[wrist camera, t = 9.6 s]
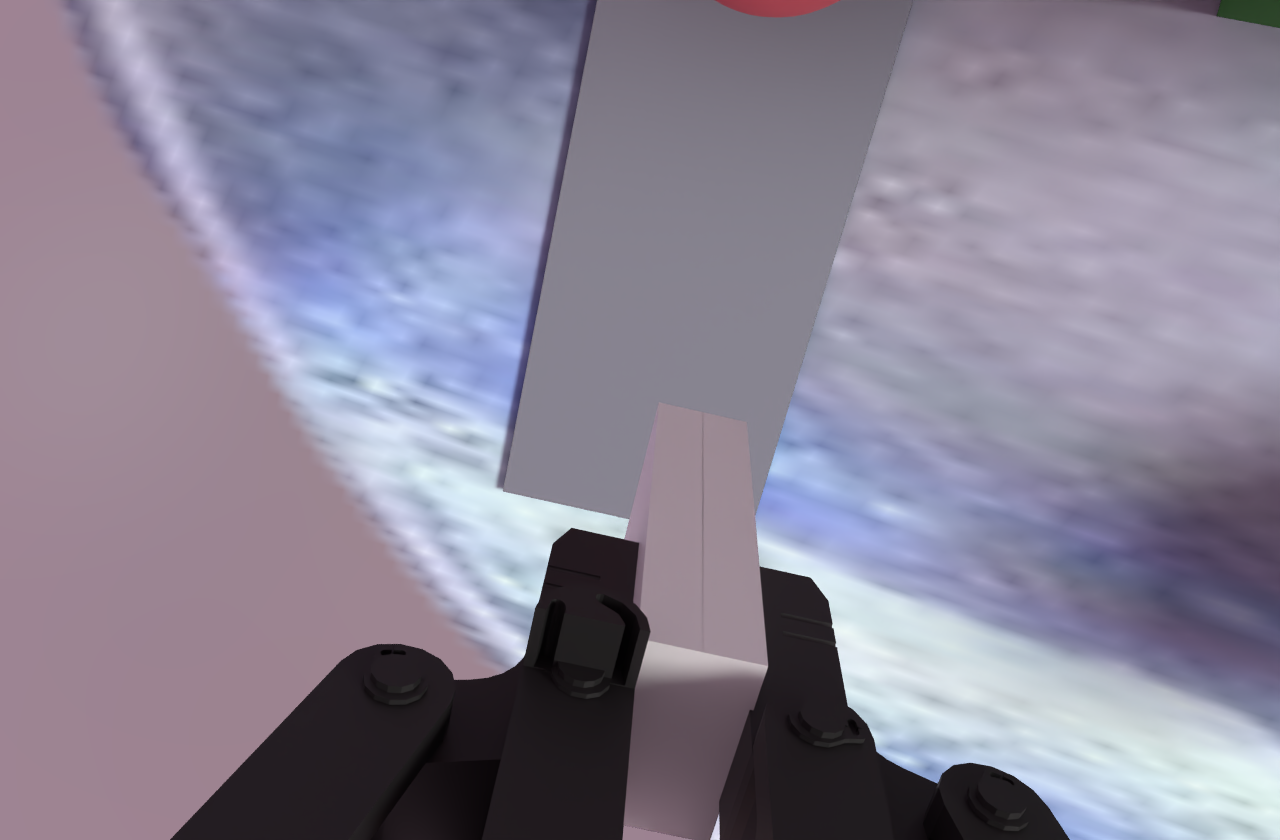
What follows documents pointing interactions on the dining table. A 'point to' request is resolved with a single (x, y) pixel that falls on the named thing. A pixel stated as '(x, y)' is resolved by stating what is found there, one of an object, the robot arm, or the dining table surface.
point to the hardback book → (1252, 11)
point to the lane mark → (693, 230)
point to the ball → (776, 7)
